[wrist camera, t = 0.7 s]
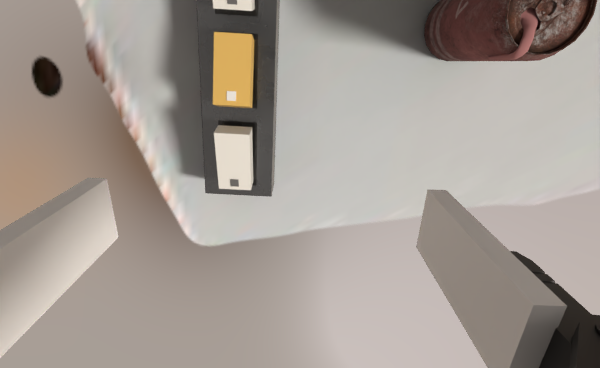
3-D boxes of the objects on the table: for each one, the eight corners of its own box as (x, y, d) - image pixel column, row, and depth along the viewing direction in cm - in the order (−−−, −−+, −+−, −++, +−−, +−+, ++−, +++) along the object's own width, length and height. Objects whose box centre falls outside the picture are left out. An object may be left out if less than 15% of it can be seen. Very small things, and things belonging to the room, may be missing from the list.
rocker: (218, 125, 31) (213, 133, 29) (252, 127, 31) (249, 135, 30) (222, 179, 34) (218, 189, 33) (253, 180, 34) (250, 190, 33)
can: (411, 53, 34) (482, 48, 21) (438, -14, 32) (535, -67, 19) (465, 71, 35) (566, 77, 21) (494, 6, 32) (626, -32, 19)
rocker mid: (218, 37, 30) (213, 31, 28) (254, 40, 30) (251, 33, 28) (217, 106, 30) (212, 104, 29) (252, 108, 31) (249, 106, 29)
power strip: (201, -163, 28) (185, -198, 24) (284, -156, 28) (282, -191, 24) (213, 180, 39) (204, 193, 35) (273, 183, 39) (271, 196, 35)
